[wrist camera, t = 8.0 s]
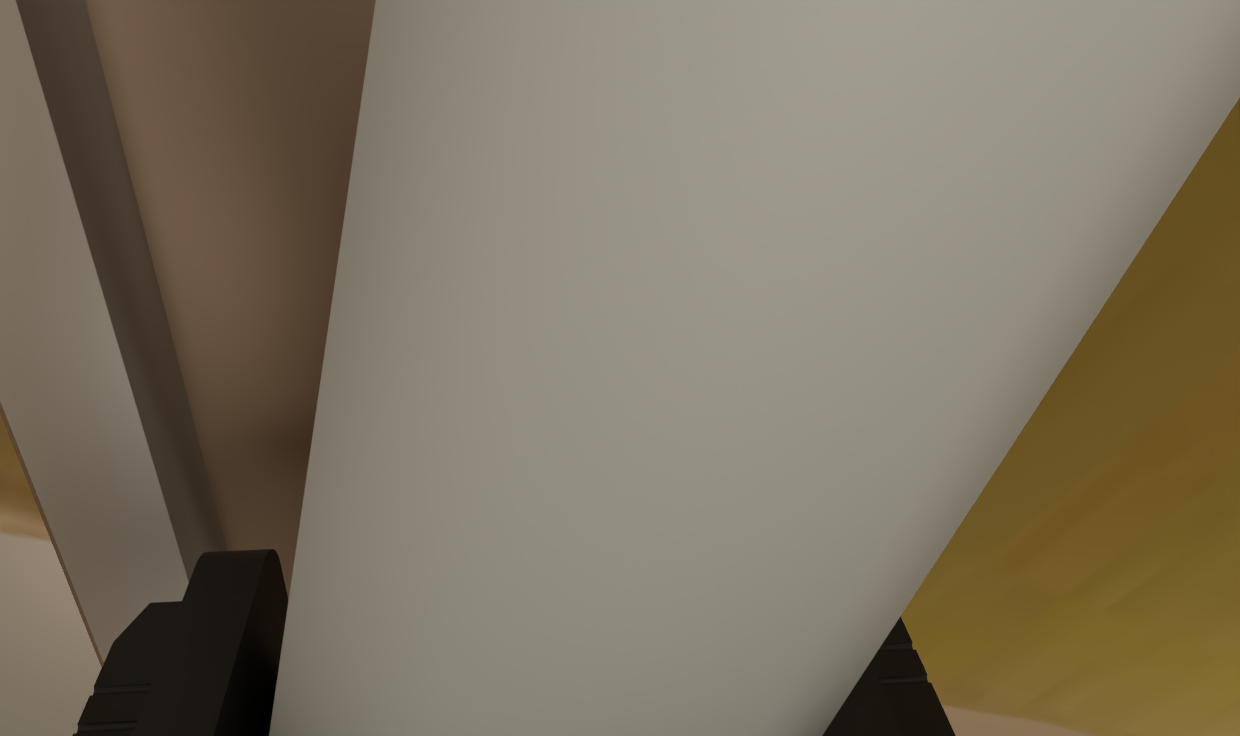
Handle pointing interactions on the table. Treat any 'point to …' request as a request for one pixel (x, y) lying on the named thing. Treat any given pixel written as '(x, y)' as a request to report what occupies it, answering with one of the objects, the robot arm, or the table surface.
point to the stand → (169, 274)
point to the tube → (701, 338)
